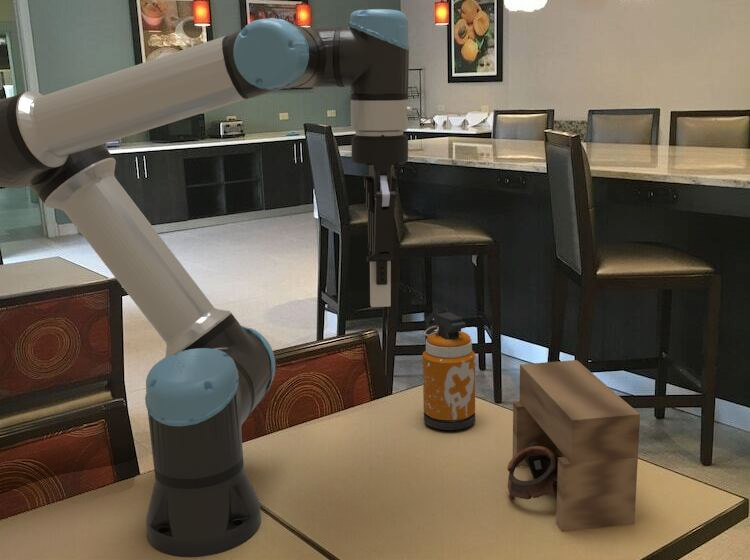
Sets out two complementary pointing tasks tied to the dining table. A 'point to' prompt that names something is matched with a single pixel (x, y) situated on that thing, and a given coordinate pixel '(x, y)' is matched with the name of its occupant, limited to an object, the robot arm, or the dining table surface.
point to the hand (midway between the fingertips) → (380, 305)
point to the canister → (448, 373)
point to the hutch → (580, 442)
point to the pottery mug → (534, 472)
